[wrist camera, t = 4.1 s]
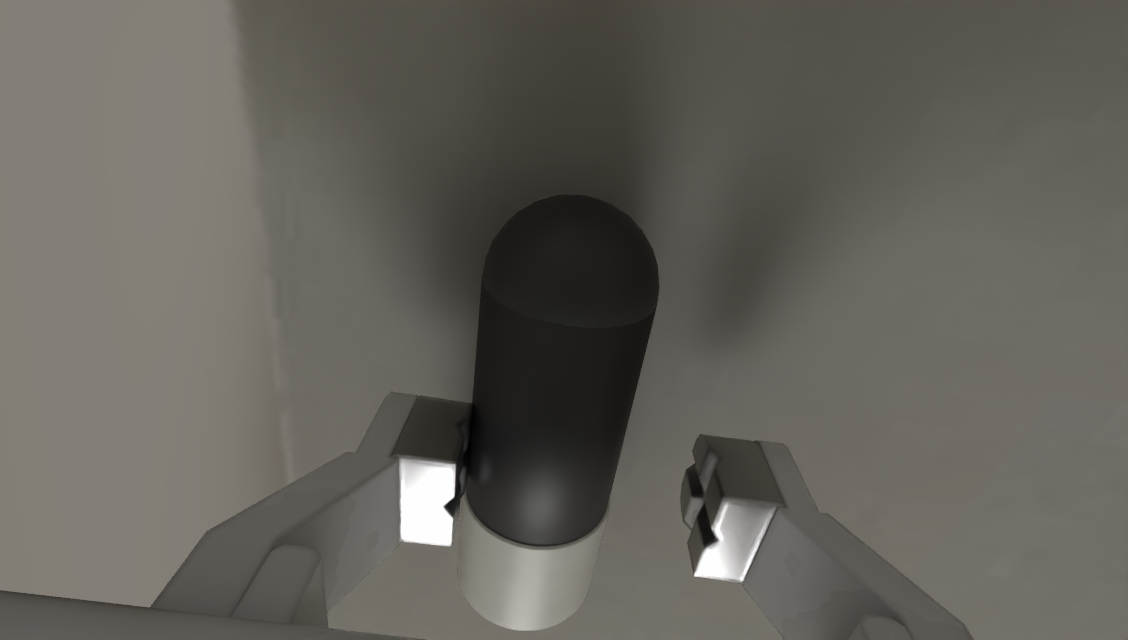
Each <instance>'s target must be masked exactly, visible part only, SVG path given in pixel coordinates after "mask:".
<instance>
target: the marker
mask: <svg viewBox="0 0 1128 640" xmlns="http://www.w3.org/2000/svg"><path fill="white" fill-rule="evenodd" d="M658 294H659V276H658V265H657V262H656V258H655V255H654V252H653V249H652V247H651V245H650V244H649V242H648V240H647V238H646V237H645V235H644V233H643V231H642V230H641V229H640V228H639V227H638V225H637V224H636V223H635V222H634V221H633V220H632V219H631V218H630V217H629V216H628V215H627V214H625V213H624V212H622V211H621V210H619V209H618V208H616V207H615V206H613V205H612V204H610V203H607V202H605V201H602V200H599V199H596V198H592V197H588V196H583V195H558V196H553V197H549V198H546V199H542V200H539V201H536V202H534V203H532V204H531V205H529V206H527V207H525V208H524V209H522V210H520V211H519V212H517V213H516V214H515V215H514V216H513V217H512V218H511V219H509V220H508V221H507V222H506V223H505V224H504V226H503V227H502V229H501V230H500V231H499V233H498V234H497V236H496V237H495V238H494V240H493V241H492V244H491V246H490V248H489V251H488V253H487V255H486V259H485V264H484V270H483V274H482V285H481V298H480V311H479V324H478V336H477V349H476V362H475V375H474V388H473V401H472V404H474V415H473V429H472V434H471V438H470V449H471V454H470V466H469V476H468V481H467V485H466V489H465V494H464V495H463V496H462V509H461V523H460V536H459V549H458V563H457V575H458V581H459V585H460V587H461V590H462V592H463V594H464V596H465V598H466V599H467V601H468V602H469V603H470V605H471V606H472V607H473V608H474V609H475V610H476V611H477V612H478V613H479V614H480V615H481V616H483V617H484V618H486V619H487V620H489V621H491V622H492V623H494V624H496V625H499V626H502V627H504V628H508V629H512V630H519V631H535V630H542V629H545V628H549V627H552V626H554V625H557V624H559V623H561V622H562V621H564V620H566V619H567V618H569V617H570V616H571V615H572V614H573V613H575V612H576V610H577V609H578V608H579V607H580V606H581V604H582V603H583V601H584V600H585V598H586V596H587V594H588V591H589V588H590V584H591V580H592V576H593V572H594V568H595V564H596V560H597V556H598V552H599V548H600V544H601V540H602V536H603V532H604V528H605V524H606V520H607V516H608V512H609V507H610V493H611V489H612V485H613V481H614V477H615V473H616V469H617V465H618V461H619V457H620V453H621V449H622V445H623V441H624V436H625V432H626V428H627V424H628V420H629V416H630V412H631V408H632V404H633V400H634V396H635V392H636V388H637V384H638V380H639V376H640V372H641V368H642V363H643V359H644V355H645V351H646V347H647V343H648V339H649V335H650V331H651V327H652V323H653V319H654V315H655V311H656V307H657V302H658Z"/></svg>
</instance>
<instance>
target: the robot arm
mask: <svg viewBox="0 0 1128 640" xmlns="http://www.w3.org/2000/svg"><path fill="white" fill-rule="evenodd" d="M473 415H474V404H472V403H465V402H459V401H452V400H446V399H440V398H433V397H427V396H417V395H412V394H405V393H398V392H390V393H389V394H388V395H387V396H386V397H385V399H384V400H383V402H382V404H381V406H380V408H379V410H378V412H377V414H376V415H375V417H374V419H373V421H372V423H371V425H370V427H369V429H368V430H367V432H366V434H365V436H364V438H363V440H362V442H361V444H360V445H359V447H358V449H357V451H356V453H350V452H346V453H344V454H342V455H341V456H339V457H337V458H335V459H334V460H332V461H330V462H328V463H327V464H325V465H323V466H321V467H319V468H318V469H316V470H314V471H312V472H311V473H309V474H307V475H305V476H304V477H302V478H300V479H298V480H297V481H295V482H293V483H291V484H289V485H288V486H286V487H284V488H282V489H281V490H279V491H277V492H275V493H274V494H272V495H270V496H268V497H266V498H265V499H263V500H261V501H259V502H258V503H256V504H254V505H252V506H251V507H249V508H247V509H245V510H244V511H242V512H240V513H238V514H237V515H235V516H233V517H231V518H229V519H228V520H226V521H224V522H222V523H221V524H219V525H217V526H215V527H214V528H212V529H210V530H209V531H207V532H206V533H205V534H204V536H203V537H202V538H201V540H200V541H199V542H198V544H197V545H196V546H195V548H194V549H193V550H192V552H191V553H190V554H189V556H188V557H187V558H186V560H185V561H184V563H183V564H182V565H181V566H180V568H179V569H178V570H177V572H176V573H175V575H174V576H173V577H172V578H171V580H170V581H169V582H168V584H167V585H166V587H165V588H164V590H163V591H162V592H161V593H160V595H159V596H158V597H157V599H156V600H155V602H154V603H153V604H152V605H151V607H150V608H147V607H139V606H131V605H122V604H113V603H104V602H96V601H87V600H79V599H70V598H61V597H53V596H44V595H35V594H27V593H17V592H9V591H1V590H0V640H424V639H416V638H407V637H398V636H390V635H381V634H372V633H364V632H355V631H346V630H338V629H329V628H328V618H327V612H328V611H329V610H330V609H331V608H332V607H333V606H334V605H336V604H337V603H338V602H339V601H340V600H341V599H342V598H343V597H344V596H345V595H346V594H347V593H348V592H349V591H350V590H352V589H353V588H354V587H355V586H356V585H357V584H358V583H359V582H360V581H361V580H362V579H363V578H364V577H365V576H366V575H368V574H369V573H370V572H371V571H372V570H373V569H374V568H375V567H376V566H377V565H378V564H379V563H380V562H381V561H382V560H384V559H385V558H386V557H387V556H388V555H389V554H390V553H391V552H392V551H393V550H394V549H395V548H396V547H397V546H398V545H399V541H400V542H411V543H422V544H432V545H443V546H451V544H452V540H453V536H454V533H455V529H456V525H457V521H458V517H459V511H460V499H461V497H462V496H463V495H464V494H465V489H466V485H467V481H468V476H469V466H470V454H471V449H470V438H471V434H472V429H473ZM692 452H693V456H694V460H695V464H693V465H692V466H690V467H689V468H688V469H686V472H685V475H684V479H683V482H682V489H681V498H680V500H681V513H682V518H683V522H684V523H685V524H686V525H687V527H688V528H689V529H690V530H691V534H690V537H689V539H688V542H687V544H688V549H689V554H690V559H691V564H692V568H693V573H694V576H697V577H704V578H710V579H717V580H724V581H730V582H737V583H744V584H743V587H744V588H745V589H746V591H747V592H748V593H749V595H750V596H751V597H752V598H753V600H754V601H755V602H756V604H757V605H758V606H759V607H760V609H761V610H762V611H763V613H764V614H765V615H766V617H767V618H768V619H769V620H770V622H771V623H772V624H773V626H774V627H775V628H776V629H777V631H778V632H779V633H780V635H781V636H782V637H783V638H784V640H974V639H973V637H972V636H971V634H970V633H969V631H968V629H967V628H966V626H965V625H964V624H963V623H962V622H961V621H960V620H958V619H957V618H956V617H955V616H953V615H952V614H951V613H950V612H948V611H947V610H946V609H945V608H944V607H942V606H941V605H940V604H939V603H937V602H936V601H935V600H934V599H932V598H931V597H930V596H929V595H928V594H926V593H925V592H924V591H923V590H921V589H920V588H919V587H918V586H916V585H915V584H914V583H913V582H912V581H910V580H909V579H908V578H907V577H905V576H904V575H903V574H902V573H900V572H899V571H898V570H897V569H896V568H894V567H893V566H892V565H891V564H889V563H888V562H887V561H886V560H884V559H883V558H882V557H881V556H879V555H878V554H877V553H876V552H875V551H873V550H872V549H871V548H870V547H868V546H867V545H866V544H865V543H863V542H862V541H861V540H860V539H859V538H857V537H856V536H855V535H854V534H852V533H851V532H850V531H849V530H847V529H846V528H845V527H844V526H843V525H841V524H840V523H839V522H838V521H836V520H835V519H834V518H833V517H831V516H830V515H829V514H827V513H820V512H819V511H818V509H817V507H816V505H815V503H814V500H813V498H812V496H811V494H810V492H809V490H808V488H807V486H806V484H805V482H804V480H803V478H802V476H801V474H800V472H799V470H798V468H797V466H796V463H795V461H794V459H793V457H792V455H791V453H790V451H789V449H788V447H787V446H786V445H784V444H783V443H777V442H767V441H758V440H755V441H751V440H743V439H735V438H727V437H719V436H711V435H703V434H700V435H699V437H698V438H697V439H696V442H695V444H694V447H693V450H692Z"/></svg>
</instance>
